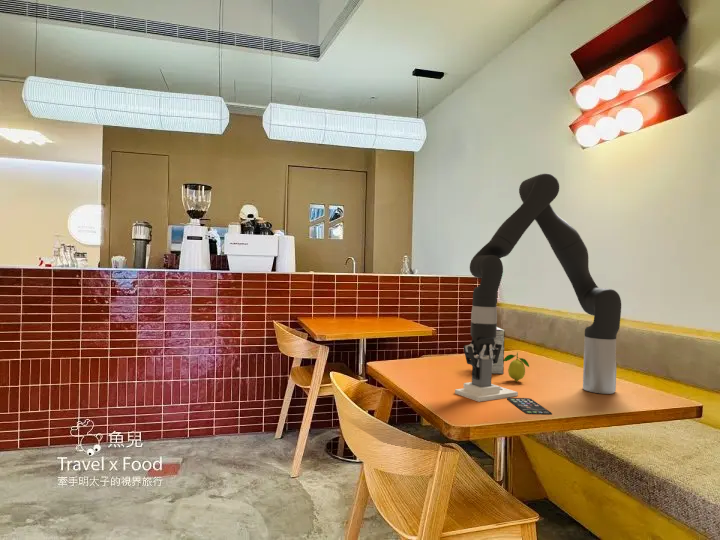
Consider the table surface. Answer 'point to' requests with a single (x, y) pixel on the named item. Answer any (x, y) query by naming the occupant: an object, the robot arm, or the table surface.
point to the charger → (484, 372)
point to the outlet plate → (485, 392)
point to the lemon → (516, 367)
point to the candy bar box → (499, 366)
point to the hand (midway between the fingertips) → (481, 378)
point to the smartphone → (529, 406)
